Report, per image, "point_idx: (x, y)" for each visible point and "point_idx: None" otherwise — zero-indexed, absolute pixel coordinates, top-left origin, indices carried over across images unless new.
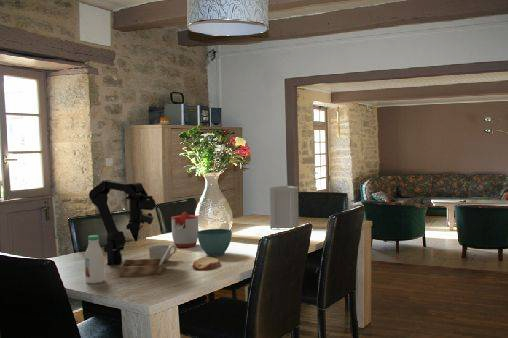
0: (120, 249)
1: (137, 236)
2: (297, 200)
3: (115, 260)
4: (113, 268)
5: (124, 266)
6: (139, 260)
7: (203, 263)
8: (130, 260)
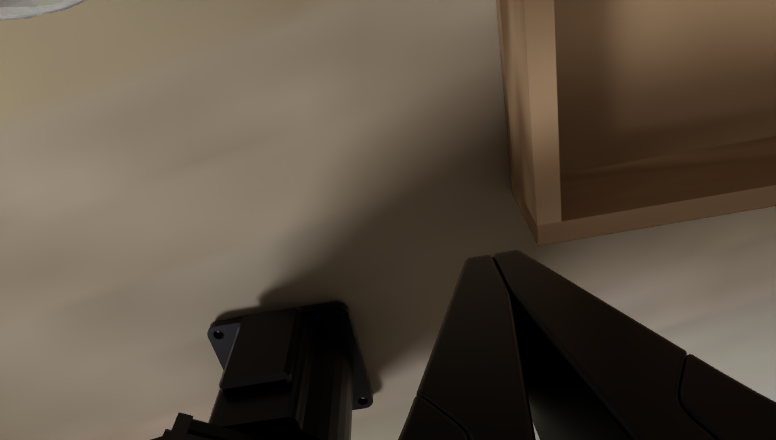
0: (231, 438)
1: (630, 322)
2: None
3: (343, 366)
4: None
5: (713, 167)
6: (551, 26)
7: None
8: (557, 164)
